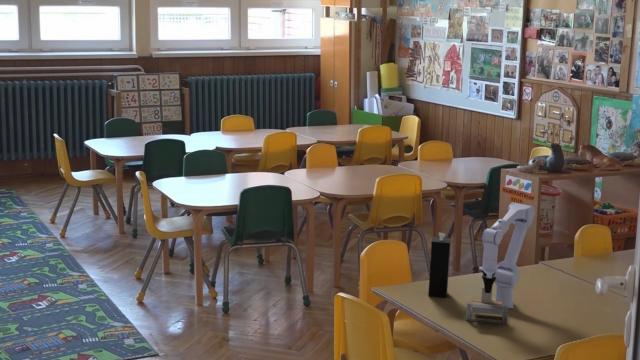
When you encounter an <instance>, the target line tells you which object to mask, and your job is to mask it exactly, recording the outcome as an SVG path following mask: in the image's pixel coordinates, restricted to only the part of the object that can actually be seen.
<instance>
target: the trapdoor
mask: <svg viewBox="0 0 640 360" xmlns="http://www.w3.org/2000/svg"><path fill="white" fill-rule="evenodd" d="M503 309H504V308H503V306H502V301H496V300H494V299H491V303H487V302H481V298H473V297H472V298H471V313H472V314H482V315H483V314H484V315H494V316H502V315H503Z"/></svg>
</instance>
